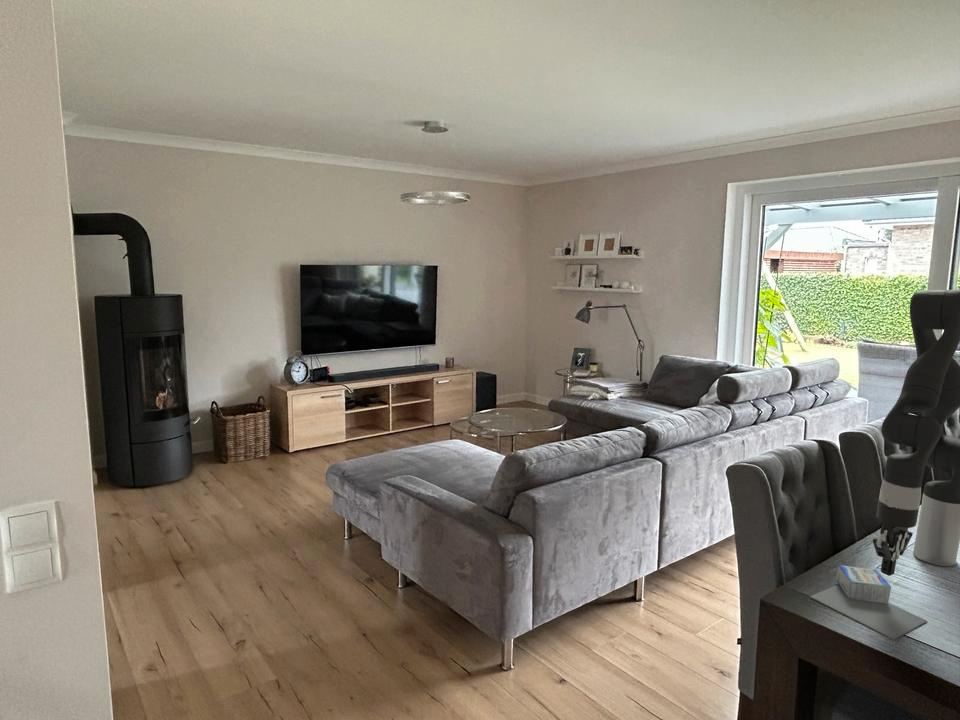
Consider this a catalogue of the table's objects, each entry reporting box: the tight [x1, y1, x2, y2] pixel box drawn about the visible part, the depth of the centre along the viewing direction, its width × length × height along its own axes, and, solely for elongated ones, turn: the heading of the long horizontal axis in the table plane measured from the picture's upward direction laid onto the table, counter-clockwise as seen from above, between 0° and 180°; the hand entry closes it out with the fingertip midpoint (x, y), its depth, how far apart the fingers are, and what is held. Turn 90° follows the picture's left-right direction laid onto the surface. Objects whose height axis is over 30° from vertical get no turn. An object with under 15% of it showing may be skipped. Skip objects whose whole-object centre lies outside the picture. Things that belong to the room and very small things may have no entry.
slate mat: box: [809, 583, 928, 641], centre depth 139 cm, size 14×18×1 cm
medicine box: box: [835, 564, 892, 604], centre depth 145 cm, size 8×4×9 cm
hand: (887, 573), depth 141 cm, fingers closed
